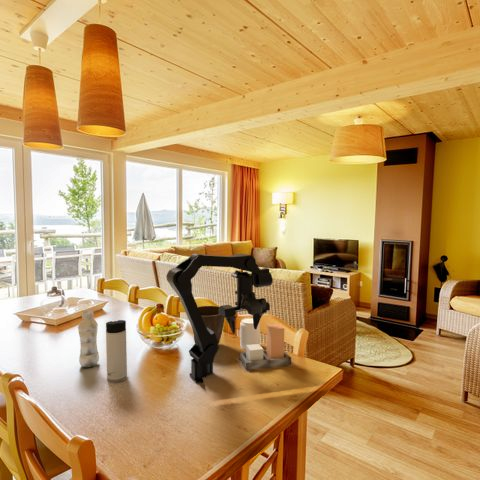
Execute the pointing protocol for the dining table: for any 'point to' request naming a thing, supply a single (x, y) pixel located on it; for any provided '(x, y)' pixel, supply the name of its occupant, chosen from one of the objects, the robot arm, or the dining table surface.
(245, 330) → the beverage can
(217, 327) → the plant pot
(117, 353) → the travel mug
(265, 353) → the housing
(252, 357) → the cream white block
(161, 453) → the dining table surface
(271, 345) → the jaw tall
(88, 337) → the plastic bottle
